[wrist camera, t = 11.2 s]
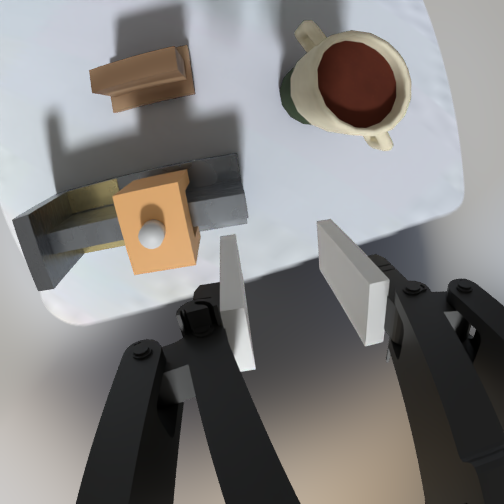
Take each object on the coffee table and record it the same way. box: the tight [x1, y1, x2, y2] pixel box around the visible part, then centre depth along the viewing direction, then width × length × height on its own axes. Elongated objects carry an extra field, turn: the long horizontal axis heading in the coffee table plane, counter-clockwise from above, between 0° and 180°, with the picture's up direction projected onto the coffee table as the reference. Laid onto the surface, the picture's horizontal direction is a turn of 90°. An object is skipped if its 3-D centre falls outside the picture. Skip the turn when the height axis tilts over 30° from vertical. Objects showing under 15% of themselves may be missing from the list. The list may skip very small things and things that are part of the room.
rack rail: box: [12, 153, 248, 291], centre depth 27 cm, size 7×20×9 cm, turn 98°
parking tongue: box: [89, 45, 195, 113], centre depth 23 cm, size 5×8×7 cm, turn 98°
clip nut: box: [112, 169, 201, 275], centre depth 25 cm, size 6×5×7 cm
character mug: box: [280, 20, 411, 151], centre depth 22 cm, size 11×7×13 cm, turn 36°
